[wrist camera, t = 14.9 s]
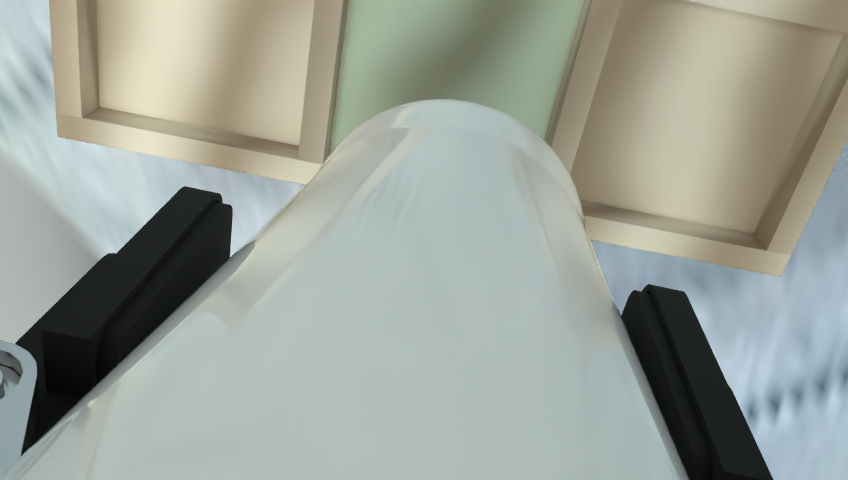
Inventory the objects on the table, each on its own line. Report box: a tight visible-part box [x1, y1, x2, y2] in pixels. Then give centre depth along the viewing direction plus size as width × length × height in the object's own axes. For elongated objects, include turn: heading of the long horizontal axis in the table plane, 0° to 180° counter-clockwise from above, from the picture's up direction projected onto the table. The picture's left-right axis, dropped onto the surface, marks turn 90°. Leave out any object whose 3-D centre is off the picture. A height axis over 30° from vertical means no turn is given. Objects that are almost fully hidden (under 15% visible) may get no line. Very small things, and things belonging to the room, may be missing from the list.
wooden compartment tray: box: [49, 0, 848, 277], centre depth 27 cm, size 30×11×2 cm, turn 80°
